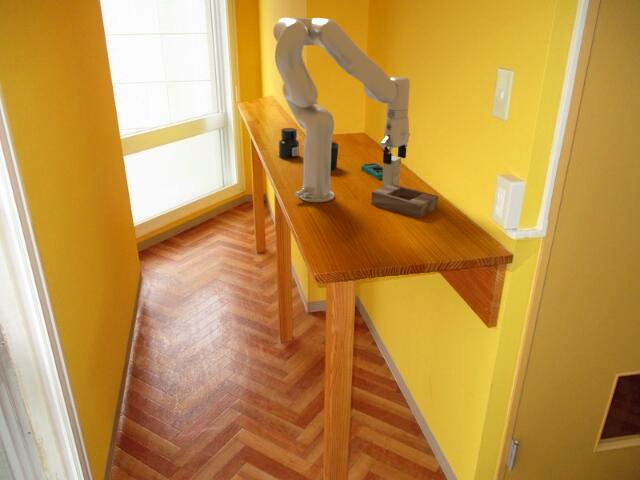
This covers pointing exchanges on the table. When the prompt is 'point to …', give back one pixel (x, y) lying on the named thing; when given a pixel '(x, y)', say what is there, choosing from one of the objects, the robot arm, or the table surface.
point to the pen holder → (334, 155)
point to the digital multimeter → (373, 170)
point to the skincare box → (392, 172)
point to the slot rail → (404, 200)
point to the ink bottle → (289, 143)
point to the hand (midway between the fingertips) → (394, 160)
